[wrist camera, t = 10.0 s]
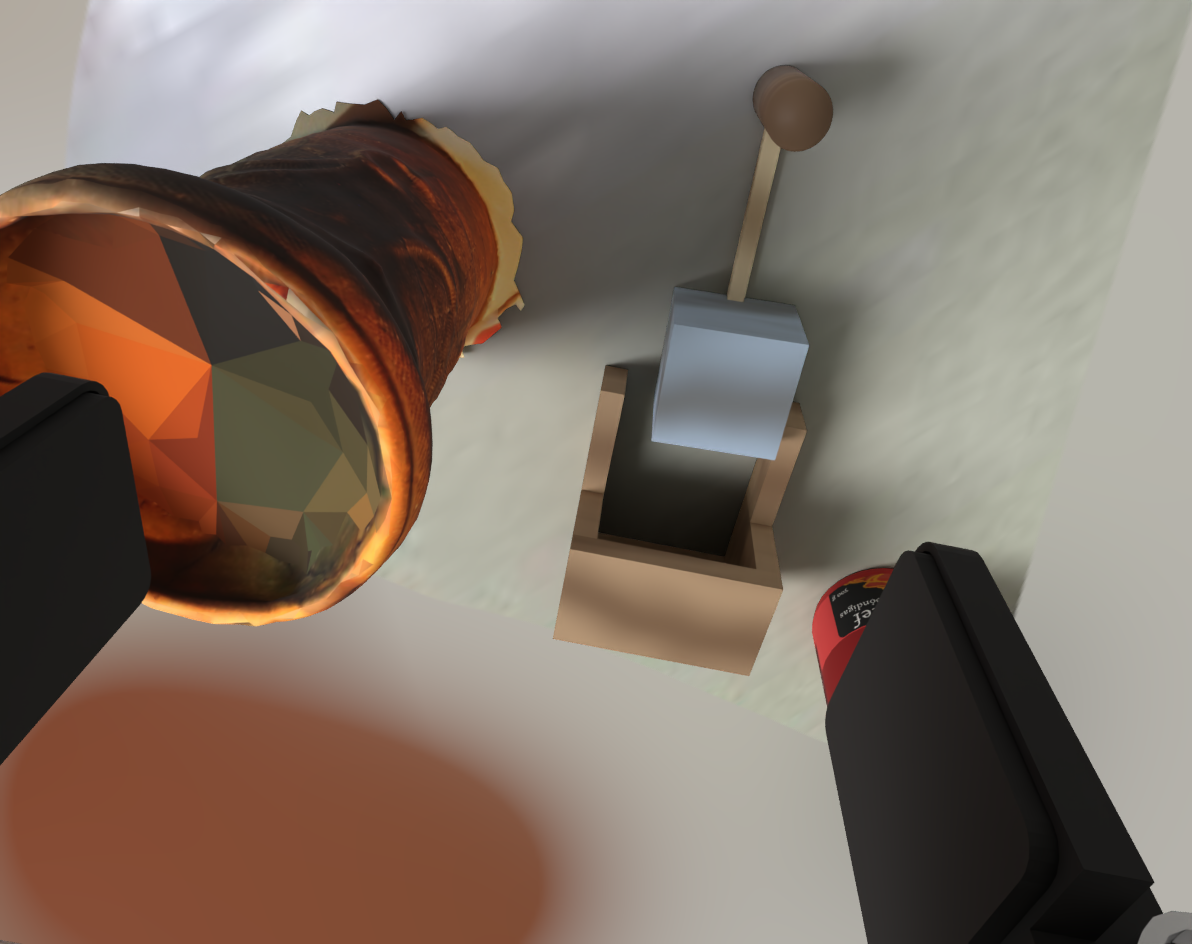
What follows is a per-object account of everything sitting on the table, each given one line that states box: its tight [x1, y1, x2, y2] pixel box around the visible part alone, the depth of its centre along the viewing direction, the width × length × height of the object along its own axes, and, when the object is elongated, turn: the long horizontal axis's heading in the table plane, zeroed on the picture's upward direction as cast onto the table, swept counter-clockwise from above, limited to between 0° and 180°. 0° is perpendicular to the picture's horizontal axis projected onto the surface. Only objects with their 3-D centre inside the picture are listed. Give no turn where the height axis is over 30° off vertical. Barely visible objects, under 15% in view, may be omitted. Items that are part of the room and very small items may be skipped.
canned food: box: [812, 568, 893, 707], centre depth 44 cm, size 8×8×11 cm
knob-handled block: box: [652, 65, 833, 460], centre depth 35 cm, size 16×6×6 cm, turn 173°
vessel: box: [0, 99, 524, 626], centre depth 30 cm, size 14×14×20 cm
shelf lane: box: [553, 366, 807, 676], centre depth 41 cm, size 12×10×8 cm
